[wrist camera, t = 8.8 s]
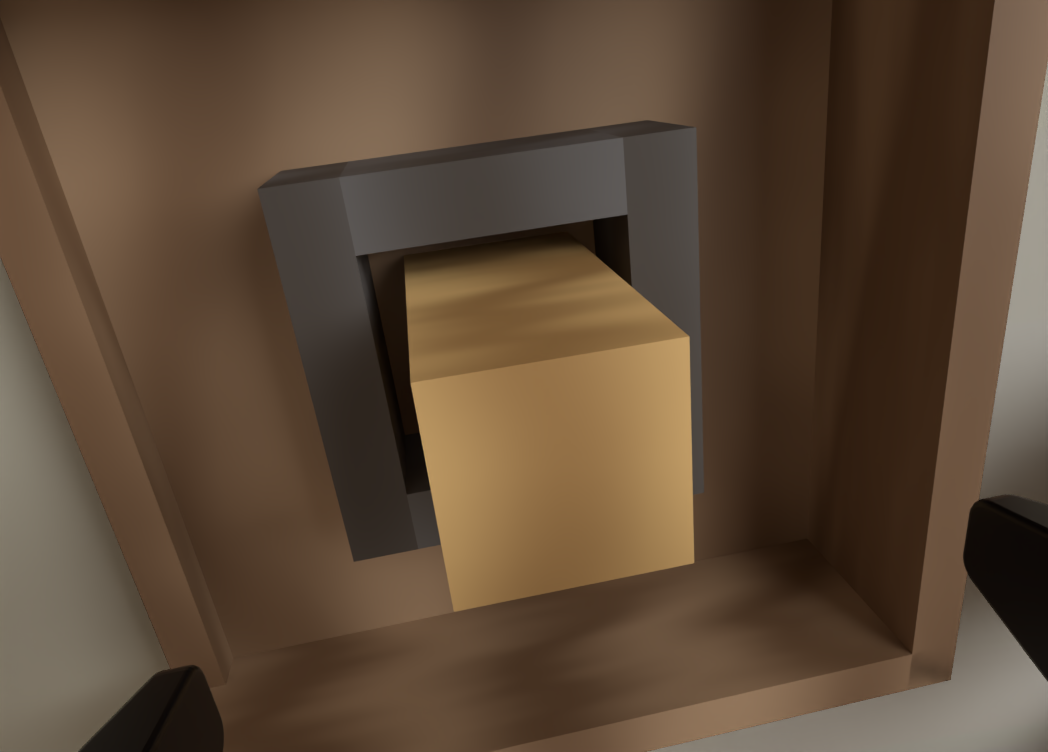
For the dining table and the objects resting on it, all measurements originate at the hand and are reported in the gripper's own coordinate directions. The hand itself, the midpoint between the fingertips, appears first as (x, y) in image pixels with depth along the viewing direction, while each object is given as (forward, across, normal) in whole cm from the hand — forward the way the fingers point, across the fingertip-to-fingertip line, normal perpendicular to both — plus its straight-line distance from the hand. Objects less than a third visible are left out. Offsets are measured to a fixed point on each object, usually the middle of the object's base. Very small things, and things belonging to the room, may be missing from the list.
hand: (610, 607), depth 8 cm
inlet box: (+12, 0, 0) cm, 12 cm away
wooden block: (+11, 0, 0) cm, 11 cm away
